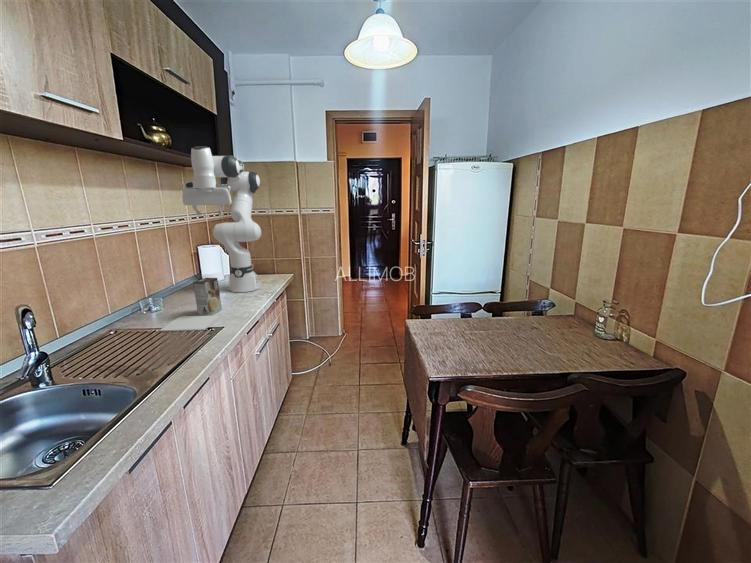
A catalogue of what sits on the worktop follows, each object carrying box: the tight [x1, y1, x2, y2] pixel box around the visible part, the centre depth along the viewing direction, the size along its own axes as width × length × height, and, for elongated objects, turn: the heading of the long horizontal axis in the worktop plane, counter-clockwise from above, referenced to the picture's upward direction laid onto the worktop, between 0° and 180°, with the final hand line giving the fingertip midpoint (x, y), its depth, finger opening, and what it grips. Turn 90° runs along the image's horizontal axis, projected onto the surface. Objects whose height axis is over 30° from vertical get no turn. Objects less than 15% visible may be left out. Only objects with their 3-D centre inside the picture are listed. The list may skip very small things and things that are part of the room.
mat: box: [159, 314, 221, 332], centre depth 146 cm, size 16×18×1 cm
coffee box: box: [192, 277, 223, 316], centre depth 157 cm, size 9×6×16 cm
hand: (209, 215), depth 156 cm, fingers open, 8 cm apart
